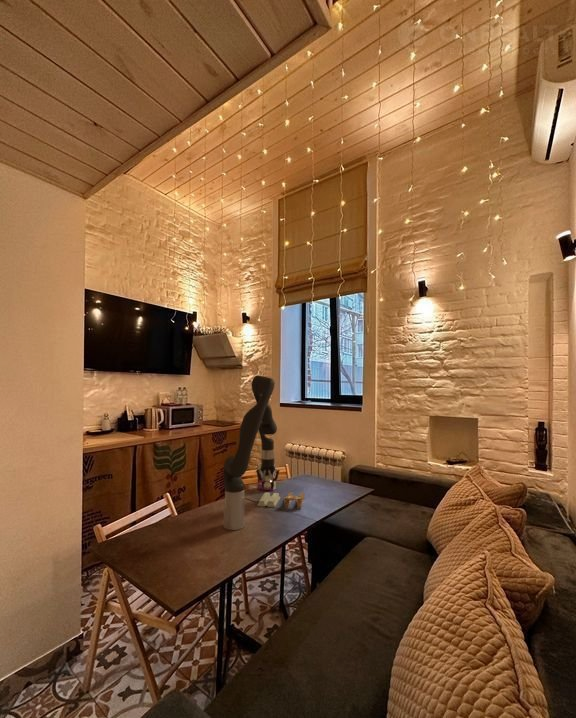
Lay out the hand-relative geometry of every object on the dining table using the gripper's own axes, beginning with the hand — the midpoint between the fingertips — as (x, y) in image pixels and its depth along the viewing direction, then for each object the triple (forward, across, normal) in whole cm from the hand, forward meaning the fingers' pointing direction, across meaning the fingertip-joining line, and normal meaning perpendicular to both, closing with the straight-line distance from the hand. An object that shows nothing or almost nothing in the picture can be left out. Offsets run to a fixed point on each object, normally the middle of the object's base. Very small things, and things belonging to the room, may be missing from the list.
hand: (268, 487), depth 187 cm
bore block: (+10, -14, -4) cm, 18 cm away
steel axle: (0, 0, -4) cm, 4 cm away
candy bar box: (+10, +8, -26) cm, 29 cm away
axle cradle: (+9, 0, -4) cm, 10 cm away
